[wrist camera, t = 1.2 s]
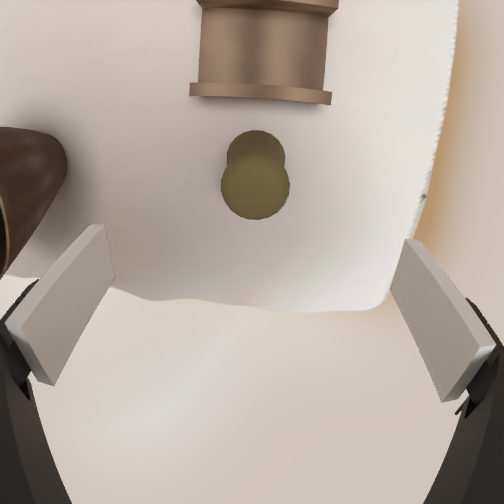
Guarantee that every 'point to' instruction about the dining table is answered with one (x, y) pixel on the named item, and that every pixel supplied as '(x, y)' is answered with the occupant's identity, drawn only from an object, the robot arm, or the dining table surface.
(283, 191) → the olive peg figure
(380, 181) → the dining table surface
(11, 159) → the plant pot
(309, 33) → the spice rack
